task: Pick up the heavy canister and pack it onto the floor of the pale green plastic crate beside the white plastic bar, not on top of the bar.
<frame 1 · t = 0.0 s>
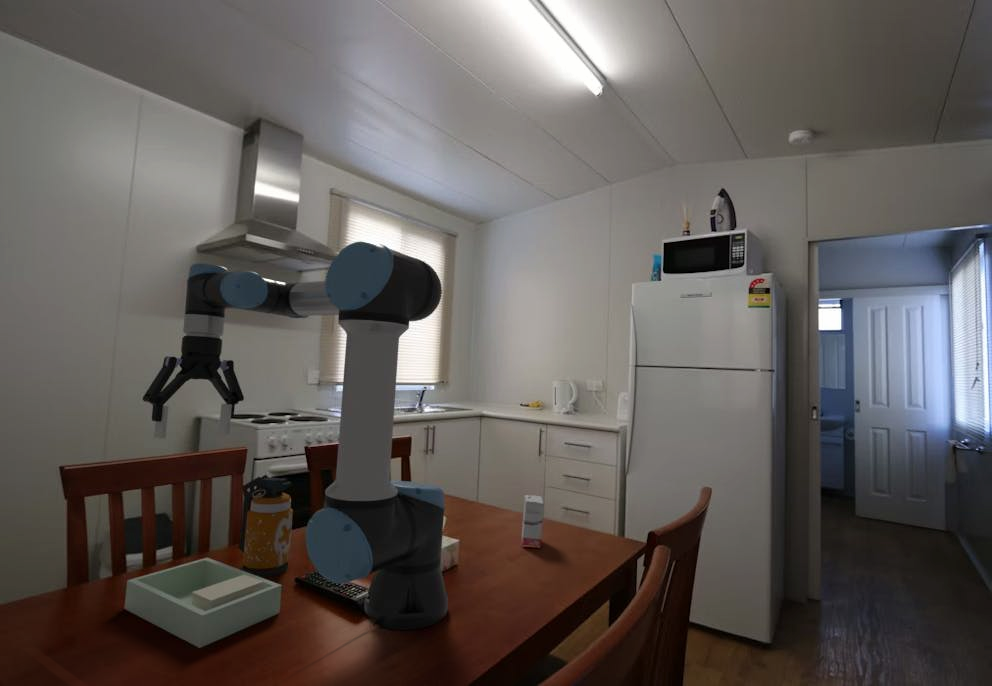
hand: (193, 435, 108), 28 cm above the table, fingers open, 13 cm apart
canister: (260, 572, 108), on the table
crate: (202, 615, 88), on the table
white plastic bar: (225, 621, 85), point 1 cm above the table, touching crate
ink box: (531, 544, 136), on the table
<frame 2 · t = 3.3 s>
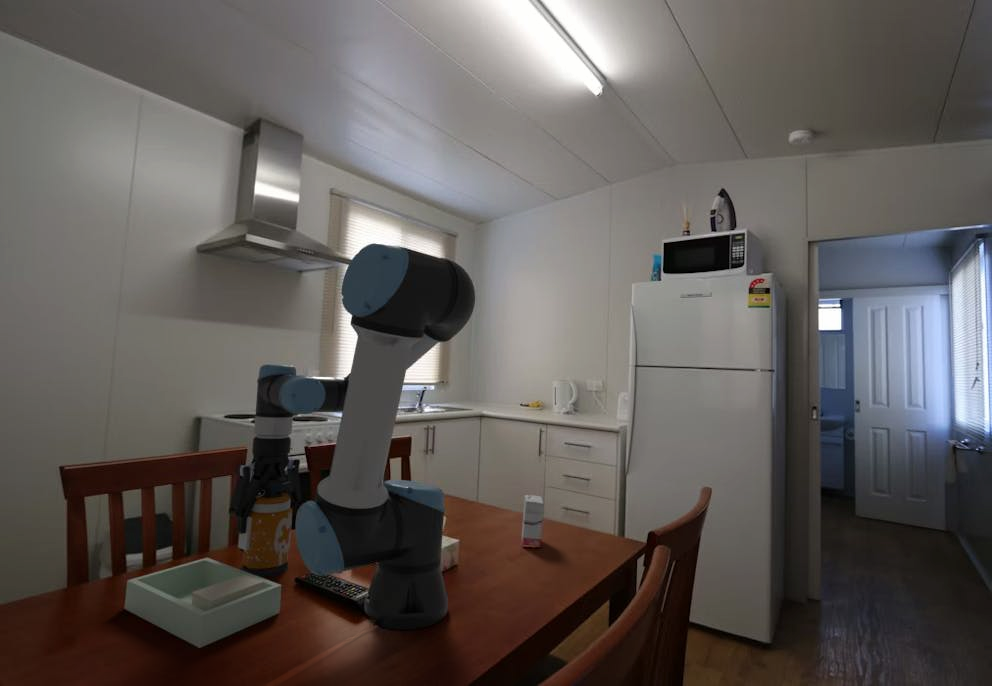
hand: (264, 542, 108), 6 cm above the table, fingers closed on canister, 9 cm apart
canister: (260, 572, 108), on the table, touching gripper
everything else where it was.
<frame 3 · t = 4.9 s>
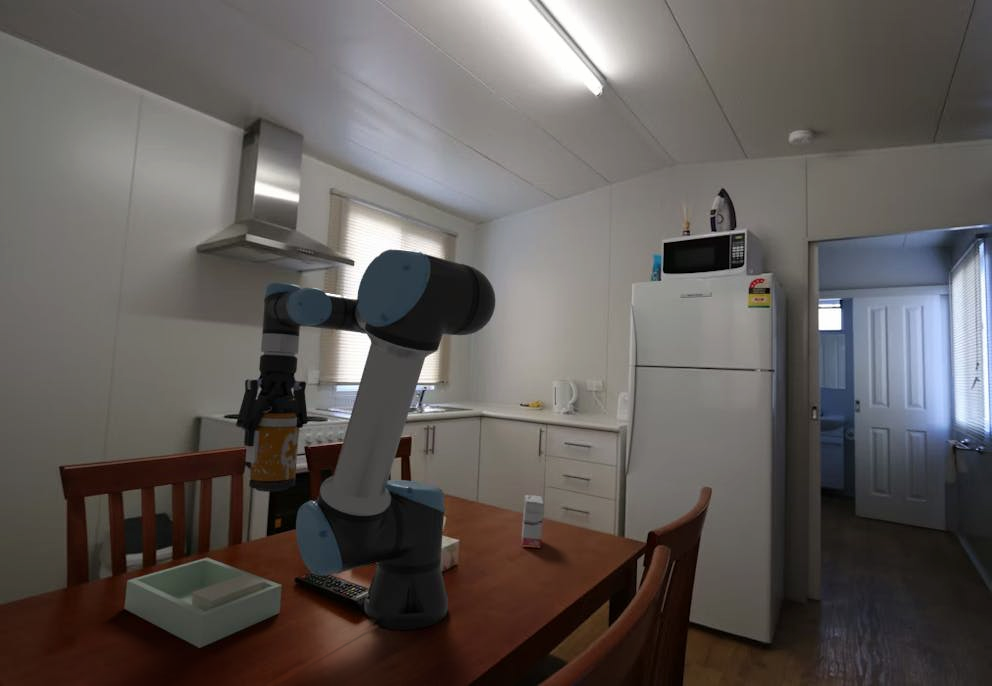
hand: (271, 459, 109), 24 cm above the table, fingers closed on canister, 9 cm apart
canister: (267, 488, 108), point 17 cm above the table, touching gripper
everything else where it was.
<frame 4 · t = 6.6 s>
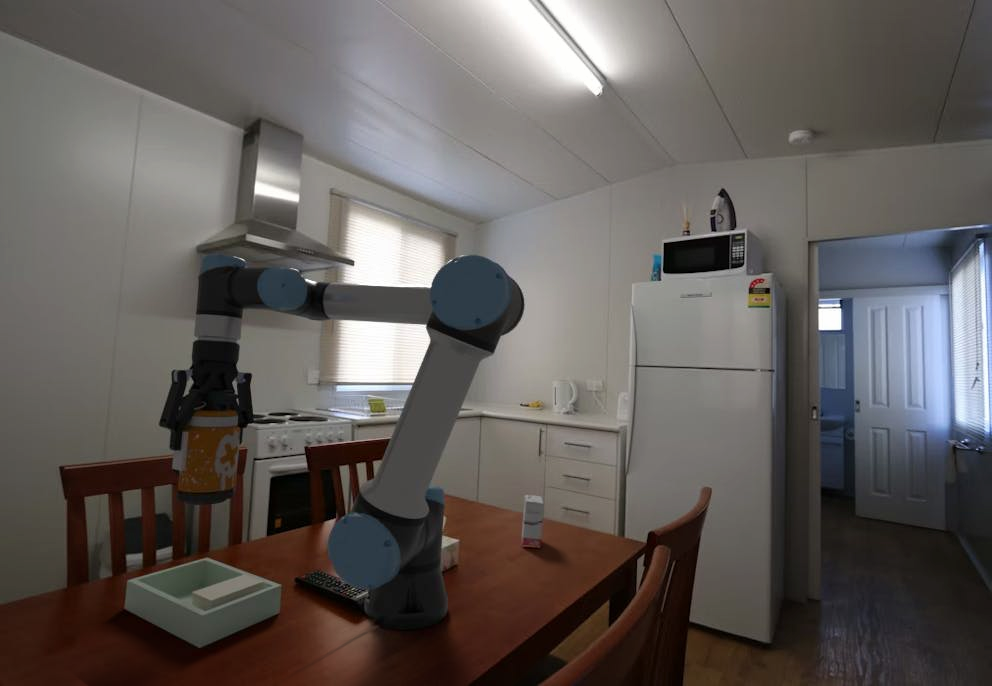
hand: (205, 465, 91), 25 cm above the table, fingers closed on canister, 9 cm apart
canister: (201, 501, 90), point 19 cm above the table, touching gripper
everything else where it was.
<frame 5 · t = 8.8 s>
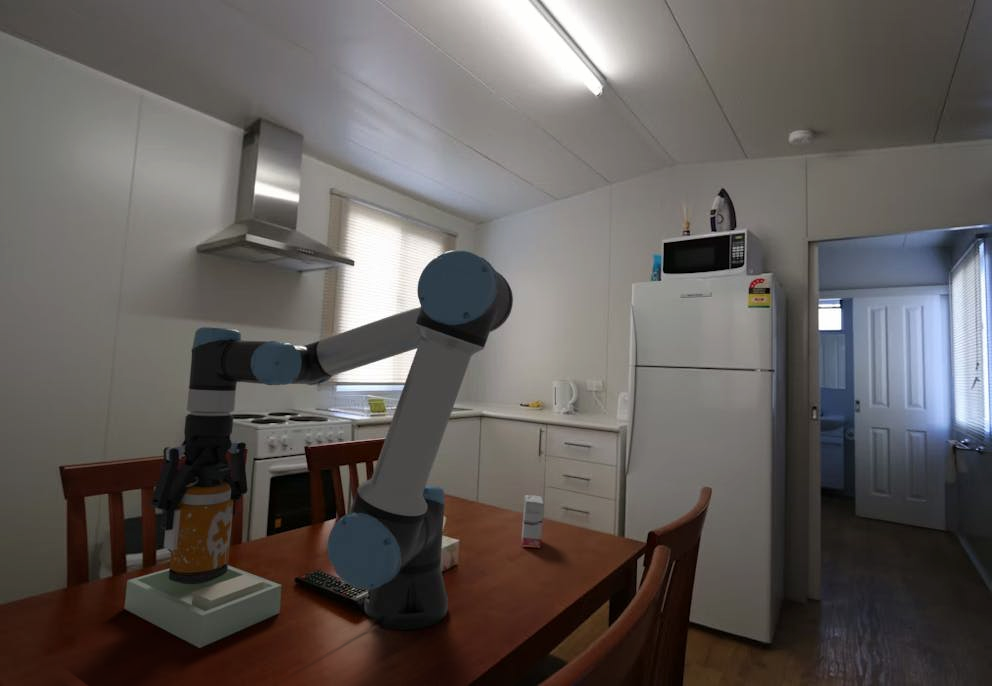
hand: (198, 541, 90), 12 cm above the table, fingers closed on canister, 9 cm apart
canister: (193, 577, 89), point 6 cm above the table, touching gripper
everything else where it was.
when the fingers open (8 cm above the table, at t = 10.2 s): canister drops 1 cm, resting on crate.
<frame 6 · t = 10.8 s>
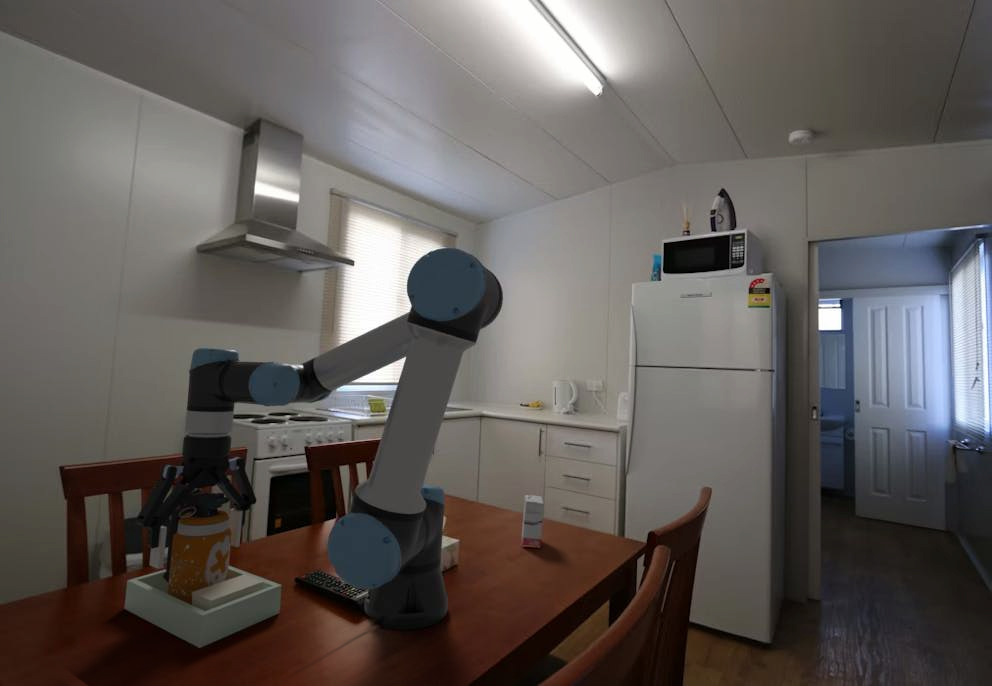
hand: (197, 555, 90), 10 cm above the table, fingers open, 13 cm apart
canister: (190, 607, 89), point 1 cm above the table, touching crate
everything else where it was.
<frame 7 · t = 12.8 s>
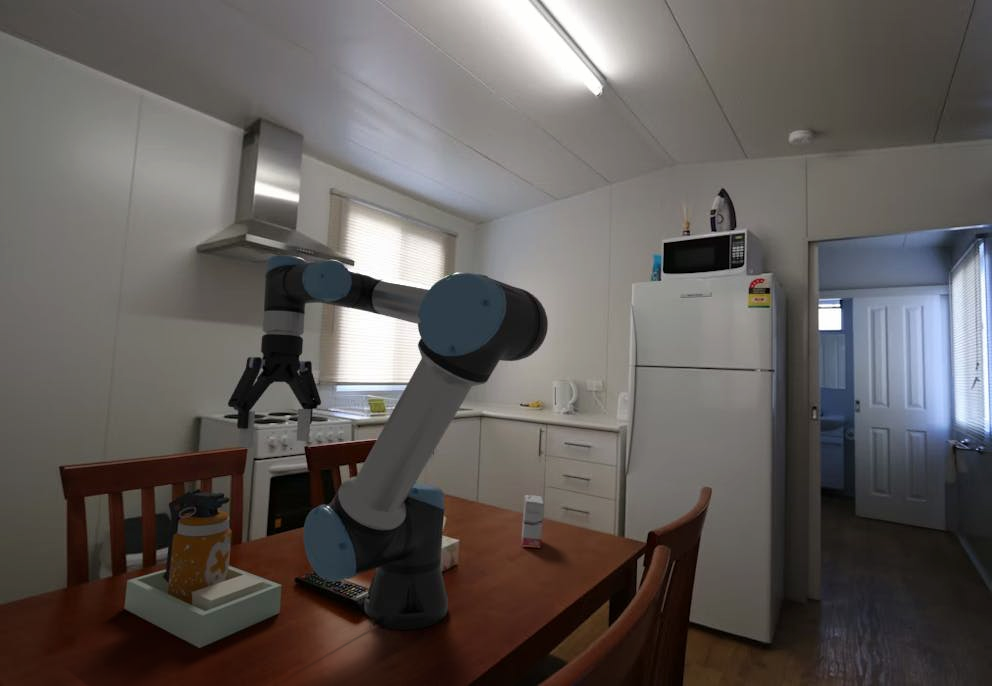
hand: (275, 443, 98), 29 cm above the table, fingers open, 13 cm apart
nothing on the table moved.
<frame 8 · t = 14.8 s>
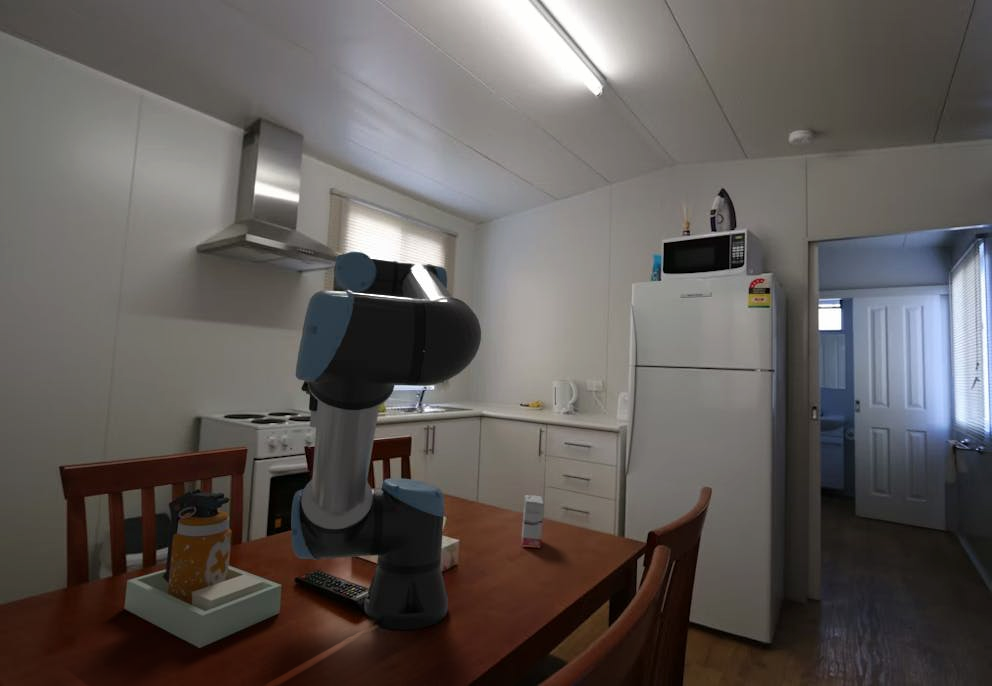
hand: (341, 425, 108), 32 cm above the table, fingers open, 13 cm apart
nothing on the table moved.
at the end: canister inside the target area on the crate (0.9 cm from its centre), point 0.6 cm above the crate's base; canister tilted 0°; canister touching crate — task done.
